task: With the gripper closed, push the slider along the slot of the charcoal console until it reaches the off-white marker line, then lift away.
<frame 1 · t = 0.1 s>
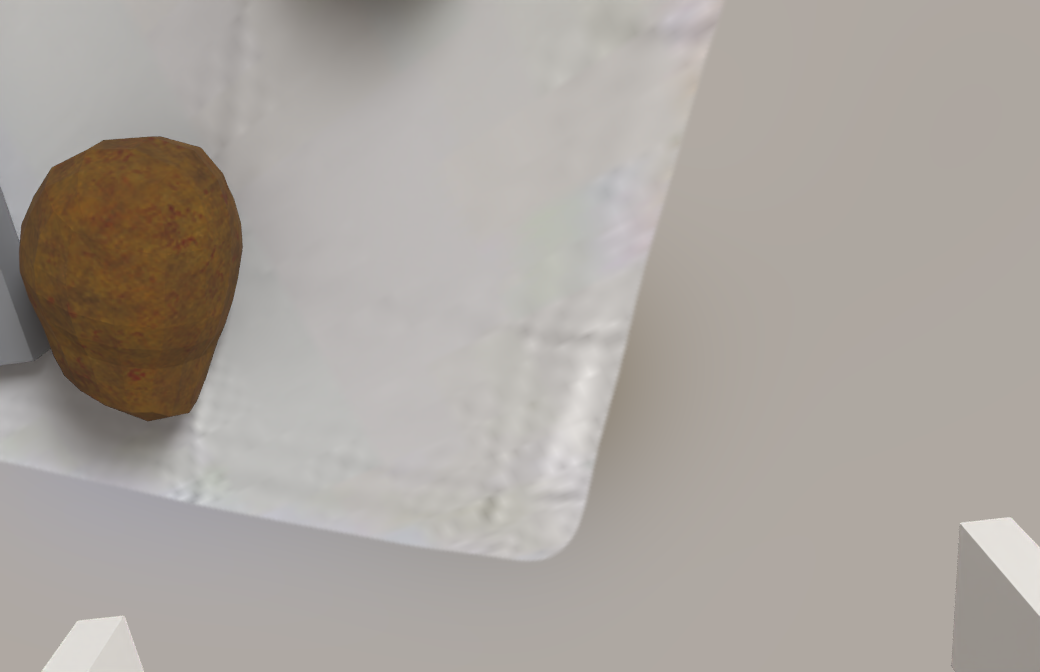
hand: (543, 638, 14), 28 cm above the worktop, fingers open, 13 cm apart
potato: (164, 247, 41), on the worktop
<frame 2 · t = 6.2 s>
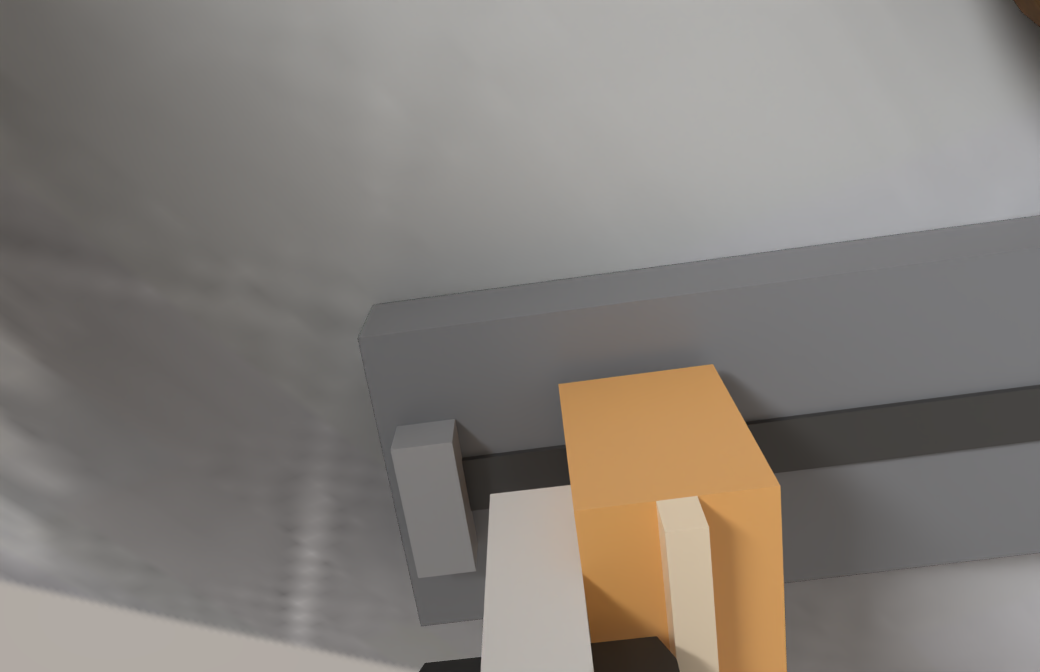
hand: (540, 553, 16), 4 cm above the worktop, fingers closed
console: (837, 391, 20), on the worktop
slider: (666, 550, 15), point 5 cm above the worktop, slide at 1.3 cm, touching gripper
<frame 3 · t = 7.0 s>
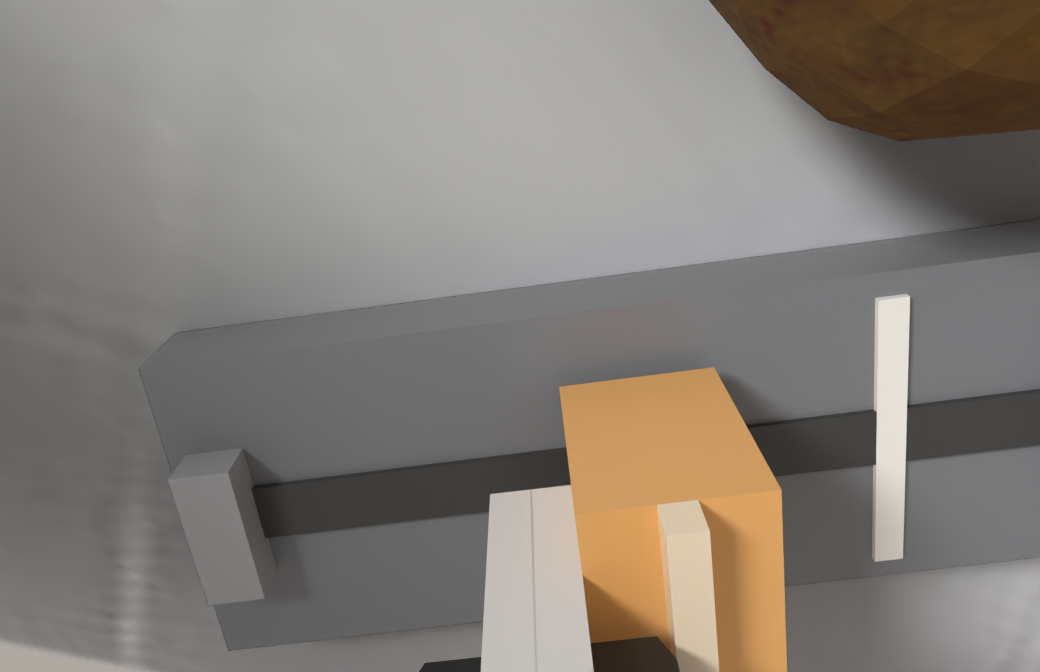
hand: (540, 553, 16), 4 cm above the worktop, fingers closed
console: (643, 418, 20), on the worktop
slider: (667, 553, 15), point 5 cm above the worktop, slide at 5.7 cm, touching gripper
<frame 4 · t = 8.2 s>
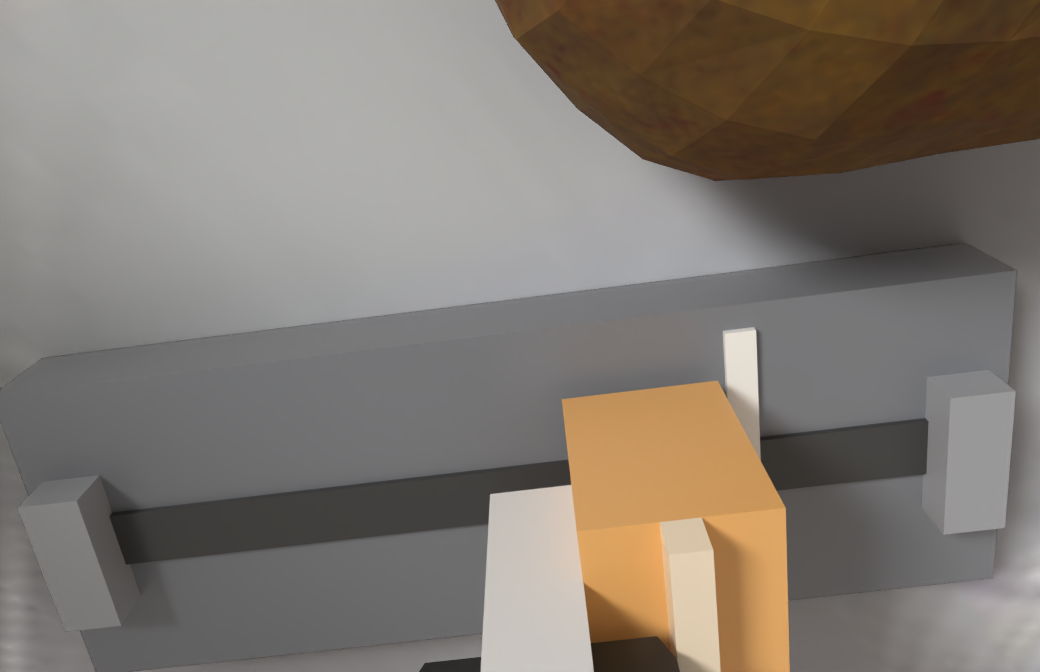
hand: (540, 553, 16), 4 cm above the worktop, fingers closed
console: (514, 445, 20), on the worktop
slider: (669, 569, 15), point 5 cm above the worktop, slide at 8.7 cm, touching gripper
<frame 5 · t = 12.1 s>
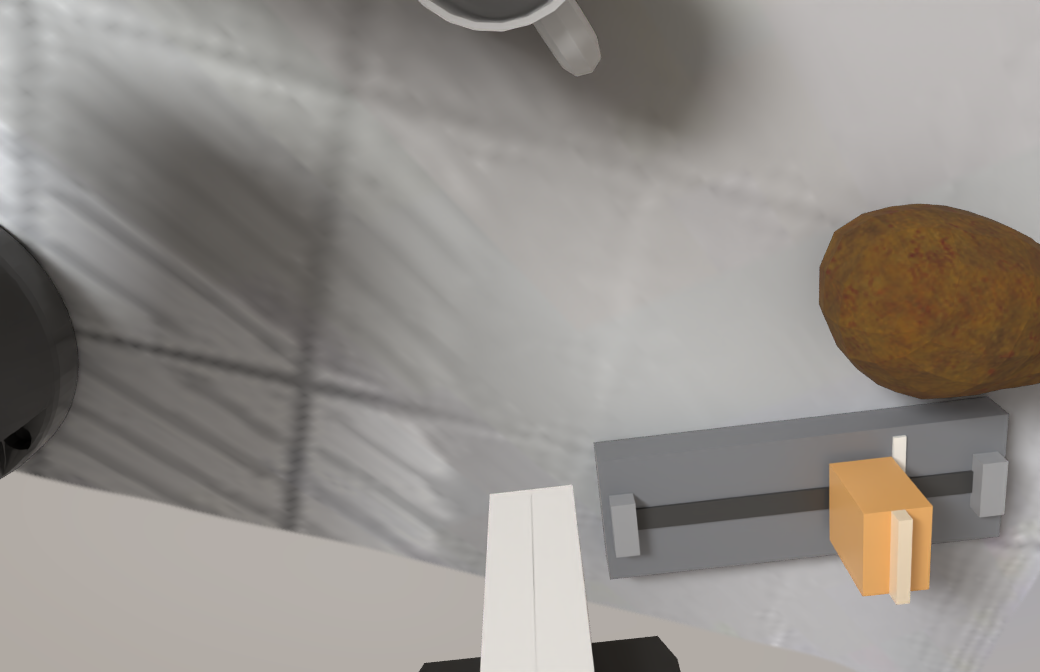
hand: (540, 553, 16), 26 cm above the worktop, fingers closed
console: (790, 479, 46), on the worktop
potato: (909, 283, 42), on the worktop
slider: (880, 529, 41), point 5 cm above the worktop, slide at 8.7 cm
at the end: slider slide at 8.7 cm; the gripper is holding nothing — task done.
